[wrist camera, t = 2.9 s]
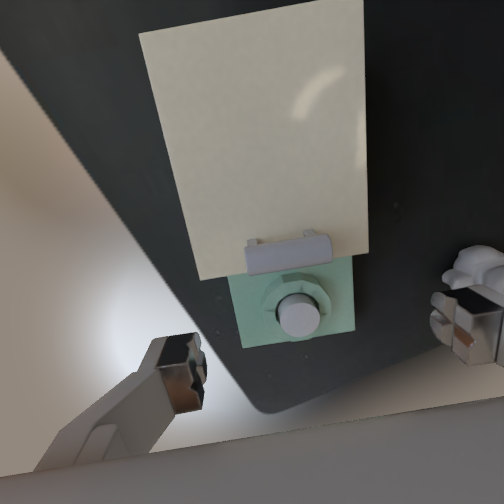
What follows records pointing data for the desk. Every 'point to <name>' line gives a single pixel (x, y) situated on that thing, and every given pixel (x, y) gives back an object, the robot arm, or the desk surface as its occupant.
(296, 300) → the flush button
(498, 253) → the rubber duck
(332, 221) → the beige cover lid
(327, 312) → the green button base
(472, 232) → the desk surface
